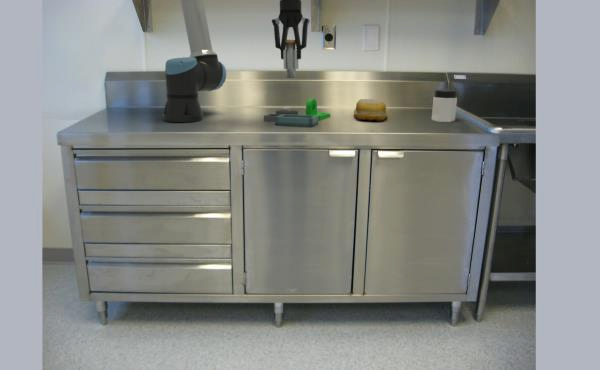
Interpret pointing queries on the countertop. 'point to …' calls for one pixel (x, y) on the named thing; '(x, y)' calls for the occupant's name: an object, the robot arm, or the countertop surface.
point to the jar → (444, 105)
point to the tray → (296, 120)
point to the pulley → (287, 111)
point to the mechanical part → (315, 110)
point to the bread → (370, 110)
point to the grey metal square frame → (270, 117)
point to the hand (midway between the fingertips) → (291, 68)
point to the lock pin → (290, 59)
